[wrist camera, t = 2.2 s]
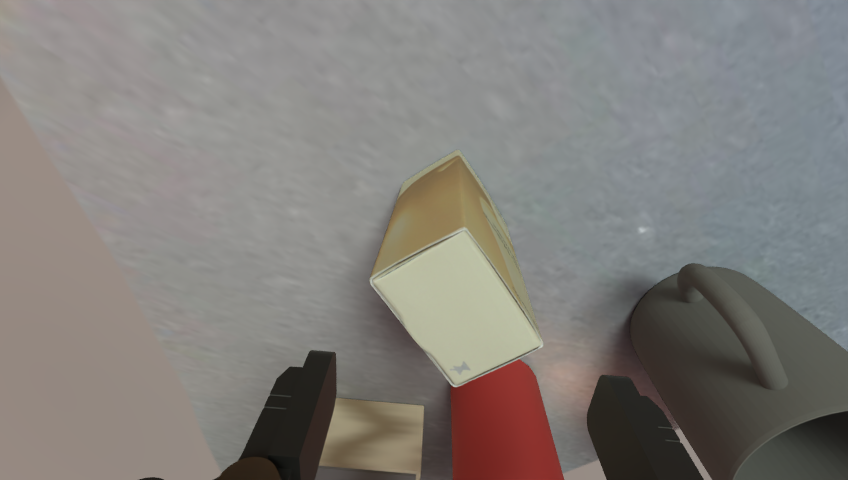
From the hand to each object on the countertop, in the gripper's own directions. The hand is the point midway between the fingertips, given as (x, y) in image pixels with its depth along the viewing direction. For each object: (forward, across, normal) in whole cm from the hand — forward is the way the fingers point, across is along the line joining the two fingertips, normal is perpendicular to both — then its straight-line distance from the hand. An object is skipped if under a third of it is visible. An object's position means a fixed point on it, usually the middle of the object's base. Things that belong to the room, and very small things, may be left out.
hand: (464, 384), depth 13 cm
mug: (+16, -17, +5) cm, 23 cm away
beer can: (+16, -5, +14) cm, 22 cm away
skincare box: (+16, 0, 0) cm, 16 cm away
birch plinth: (+16, +5, +22) cm, 27 cm away
